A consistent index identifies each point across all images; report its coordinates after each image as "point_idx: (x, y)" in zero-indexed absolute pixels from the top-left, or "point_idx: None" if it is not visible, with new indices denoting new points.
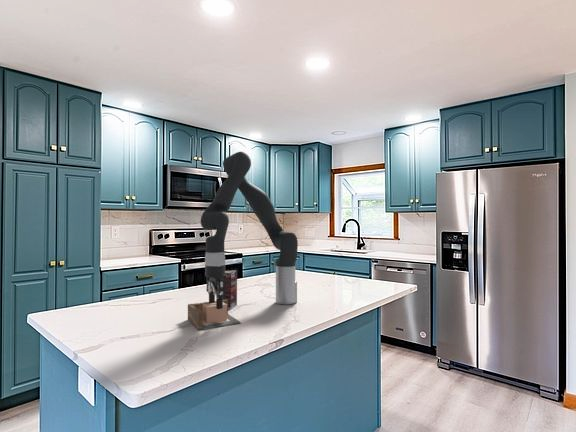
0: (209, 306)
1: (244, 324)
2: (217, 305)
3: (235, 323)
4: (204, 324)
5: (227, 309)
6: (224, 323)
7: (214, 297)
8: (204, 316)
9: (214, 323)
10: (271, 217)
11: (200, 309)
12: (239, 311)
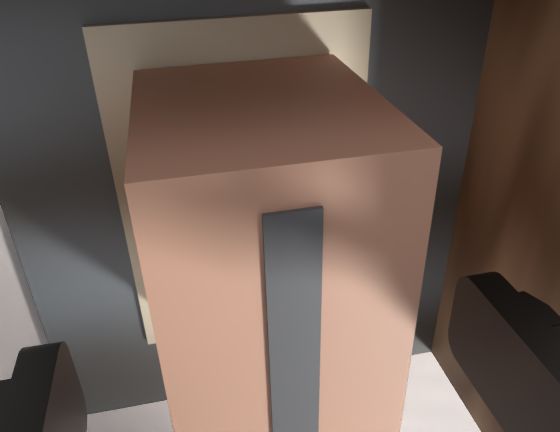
0: (171, 250)
1: None
2: (9, 408)
3: None
4: (99, 29)
5: (454, 382)
6: (80, 277)
7: (509, 430)
8: (250, 85)
9: (111, 172)
10: None
11: (558, 96)
12: (461, 427)
